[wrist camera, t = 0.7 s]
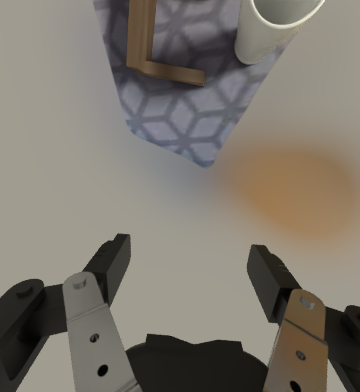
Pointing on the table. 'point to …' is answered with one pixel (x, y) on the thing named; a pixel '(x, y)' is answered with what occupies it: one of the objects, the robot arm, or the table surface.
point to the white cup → (269, 25)
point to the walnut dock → (142, 47)
